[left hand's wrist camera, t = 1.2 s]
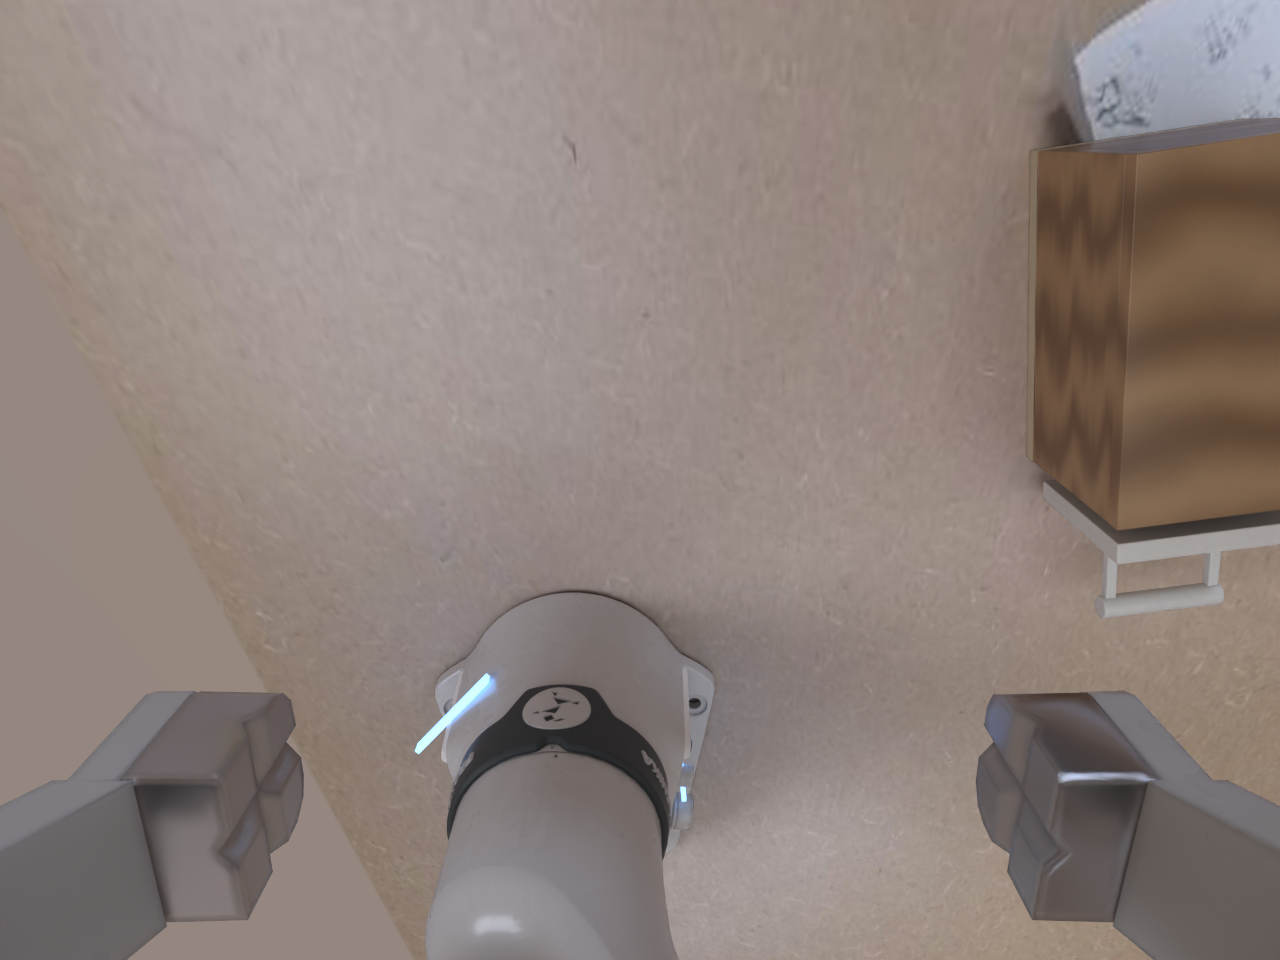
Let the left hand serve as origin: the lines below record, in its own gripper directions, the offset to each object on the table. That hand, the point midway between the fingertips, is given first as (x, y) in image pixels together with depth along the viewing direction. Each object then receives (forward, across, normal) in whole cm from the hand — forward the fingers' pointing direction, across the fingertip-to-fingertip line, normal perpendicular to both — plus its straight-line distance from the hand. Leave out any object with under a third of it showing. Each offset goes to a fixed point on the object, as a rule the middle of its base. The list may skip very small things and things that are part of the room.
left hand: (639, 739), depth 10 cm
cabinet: (+43, +28, -2) cm, 51 cm away
